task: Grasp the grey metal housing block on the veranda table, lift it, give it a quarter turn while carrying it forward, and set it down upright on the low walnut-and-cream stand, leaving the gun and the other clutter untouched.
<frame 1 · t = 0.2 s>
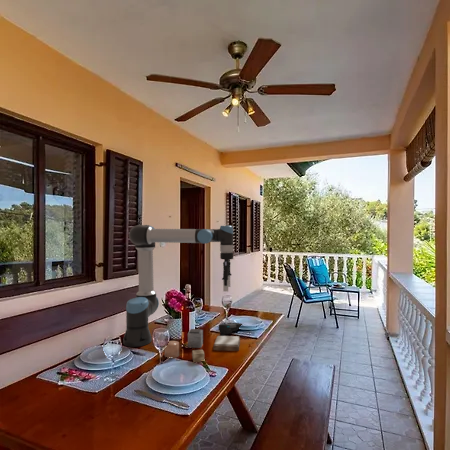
hand: (227, 289, 179), 27 cm above the table, fingers open, 13 cm apart
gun: (230, 333, 185), on the table
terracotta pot: (171, 355, 153), on the table
housing: (195, 345, 166), on the table
beech block: (198, 360, 147), on the table
stand: (227, 345, 165), on the table
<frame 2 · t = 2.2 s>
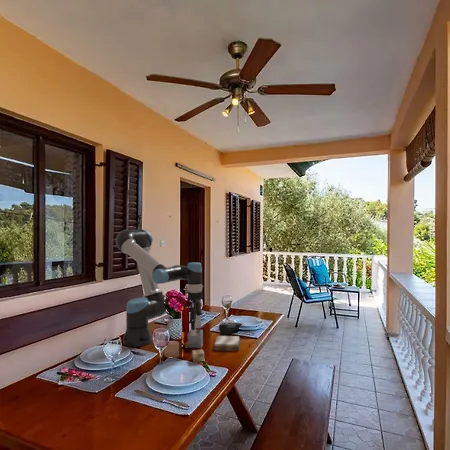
hand: (196, 331, 166), 7 cm above the table, fingers open, 13 cm apart
nothing on the table moved.
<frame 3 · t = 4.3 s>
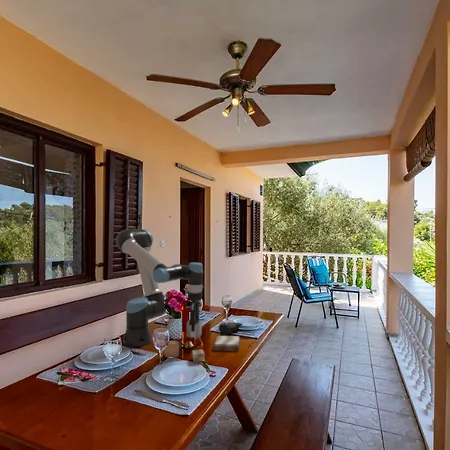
hand: (194, 334, 166), 6 cm above the table, fingers closed on housing, 6 cm apart
housing: (194, 335, 166), point 5 cm above the table, touching gripper
everything else where it was.
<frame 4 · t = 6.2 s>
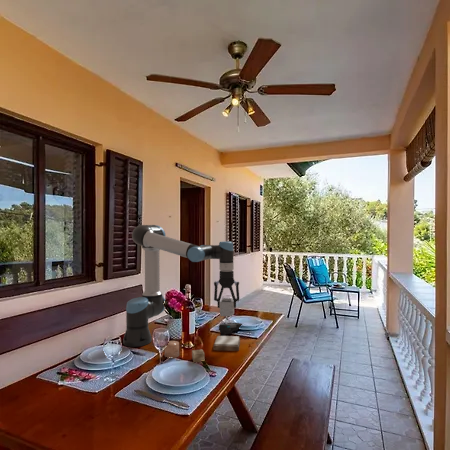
hand: (226, 313, 165), 17 cm above the table, fingers closed on housing, 6 cm apart
housing: (226, 314, 165), point 17 cm above the table, touching gripper
everything else where it was.
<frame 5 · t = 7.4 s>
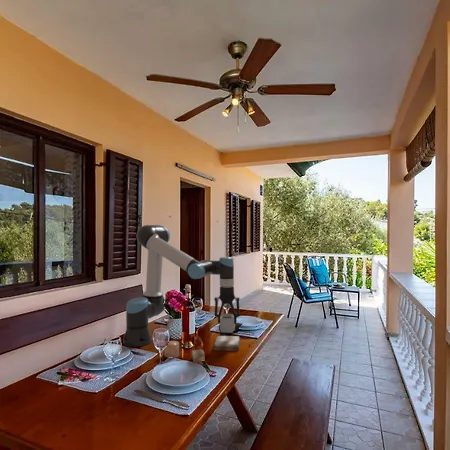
hand: (227, 329, 165), 9 cm above the table, fingers closed on housing, 6 cm apart
housing: (227, 330, 165), point 8 cm above the table, touching gripper
everything else where it was.
when the fingers open (4 cm above the table, at t = 8.4 s): housing stays where it is, resting on stand.
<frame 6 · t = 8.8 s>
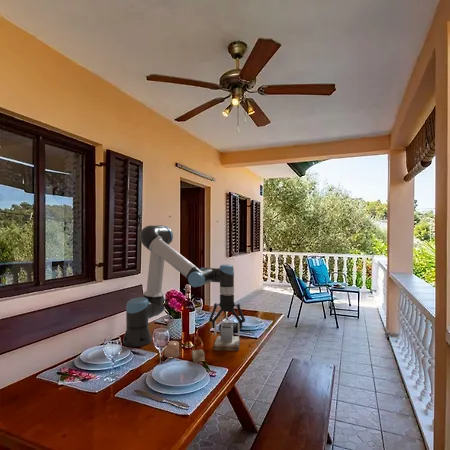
hand: (227, 334, 165), 6 cm above the table, fingers open, 12 cm apart
housing: (227, 339, 165), point 3 cm above the table, touching stand
everything else where it was.
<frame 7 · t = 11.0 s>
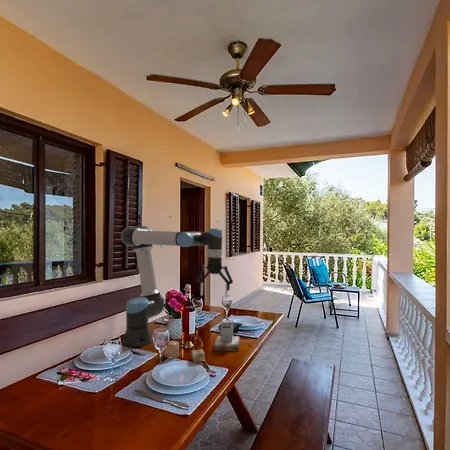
hand: (213, 295, 169), 26 cm above the table, fingers open, 13 cm apart
nothing on the table moved.
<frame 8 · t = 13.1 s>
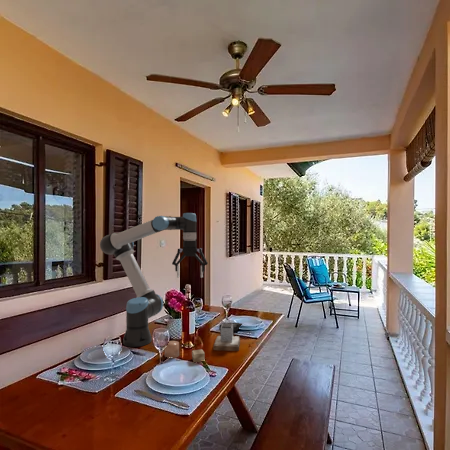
hand: (190, 277, 177), 35 cm above the table, fingers open, 13 cm apart
nothing on the table moved.
at the end: housing inside the target area on the stand (0.1 cm from its centre), point 3.0 cm above the stand's base; housing tilted 0°; the gripper is holding nothing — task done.
